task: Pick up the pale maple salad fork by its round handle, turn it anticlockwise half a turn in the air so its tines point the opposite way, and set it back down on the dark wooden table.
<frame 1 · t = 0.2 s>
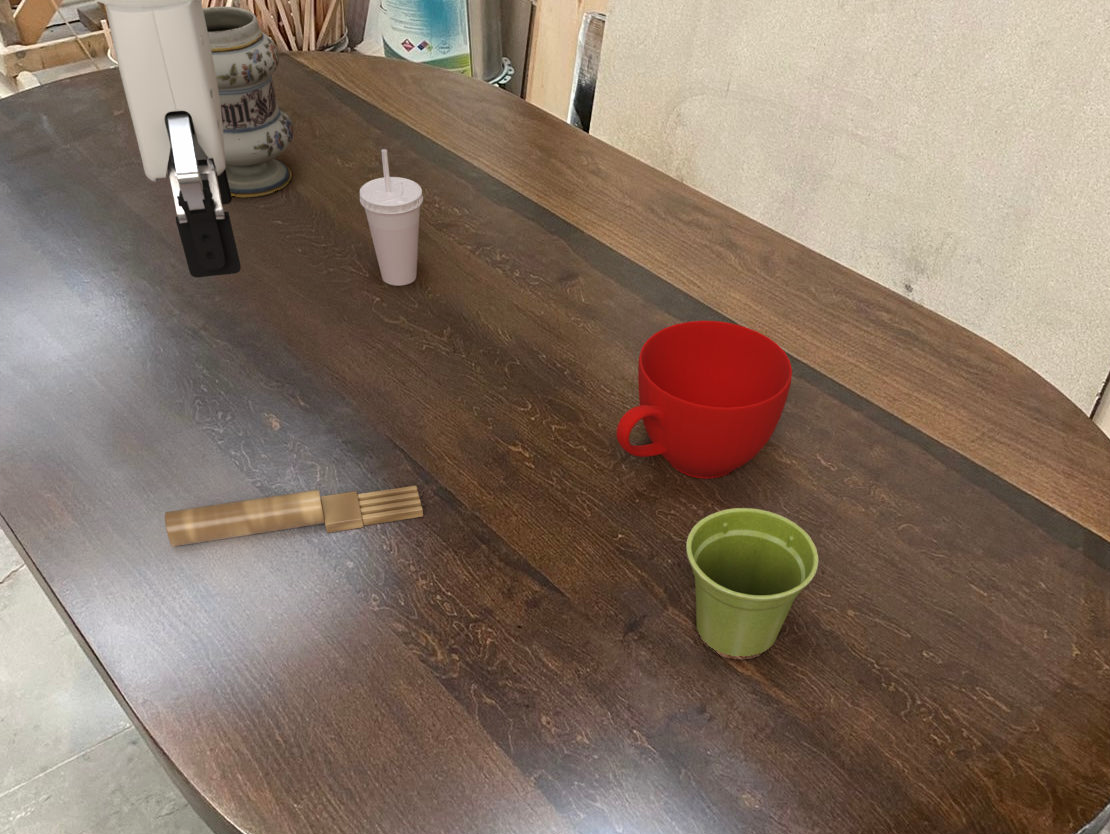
hand: (212, 237, 73), 24 cm above the table, tool pointing down, fingers open, 9 cm apart
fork: (342, 516, 89), on the table
ceramic cup: (686, 465, 96), on the table
plant pot: (735, 633, 83), on the table
smoothie: (399, 278, 116), on the table
apothecary jar: (250, 180, 129), on the table
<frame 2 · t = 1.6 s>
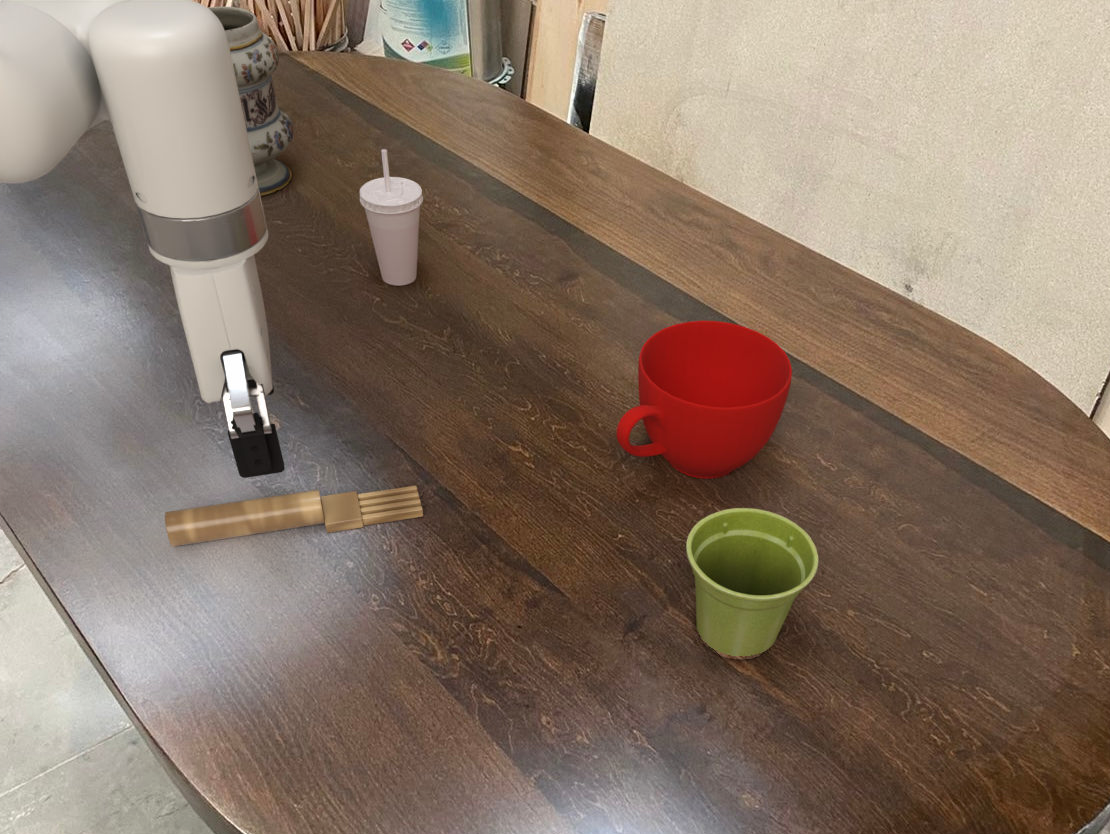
hand: (258, 432, 81), 10 cm above the table, tool pointing down, fingers open, 9 cm apart
nothing on the table moved.
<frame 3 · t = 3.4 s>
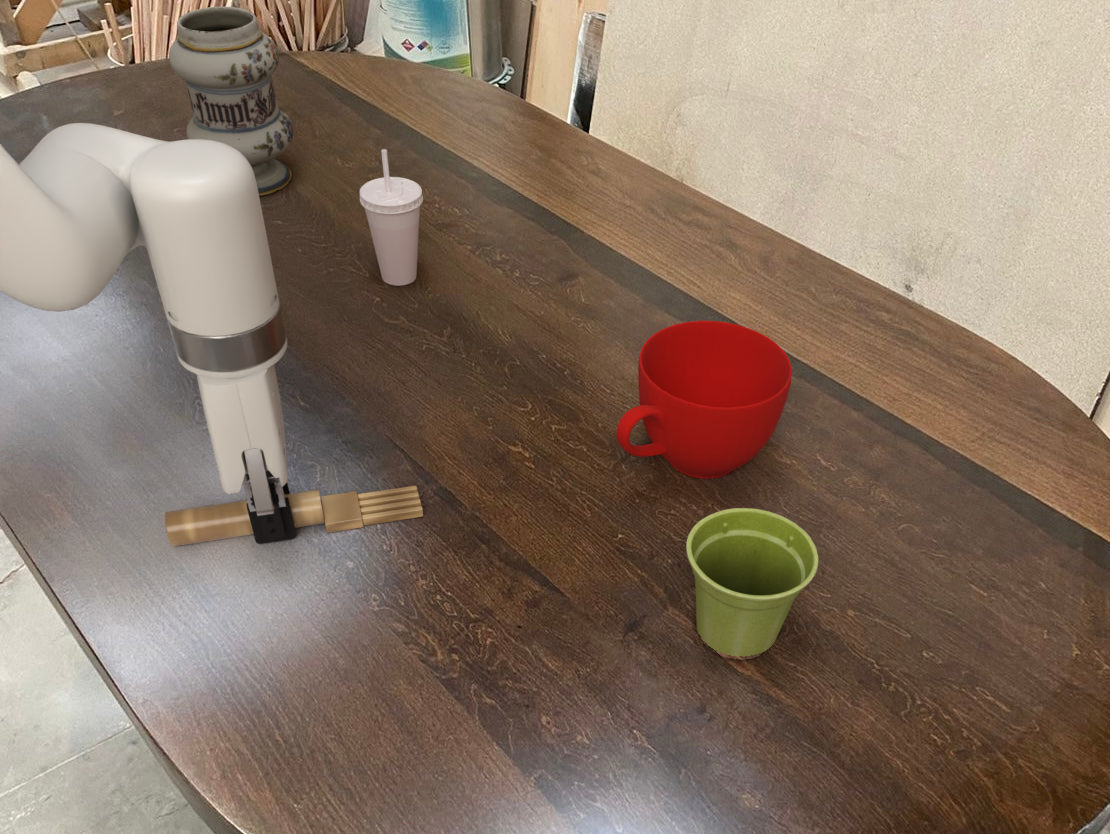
hand: (274, 522, 88), 0 cm above the table, tool pointing down, fingers closed on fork, 2 cm apart
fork: (342, 516, 89), on the table, touching gripper
everything else where it was.
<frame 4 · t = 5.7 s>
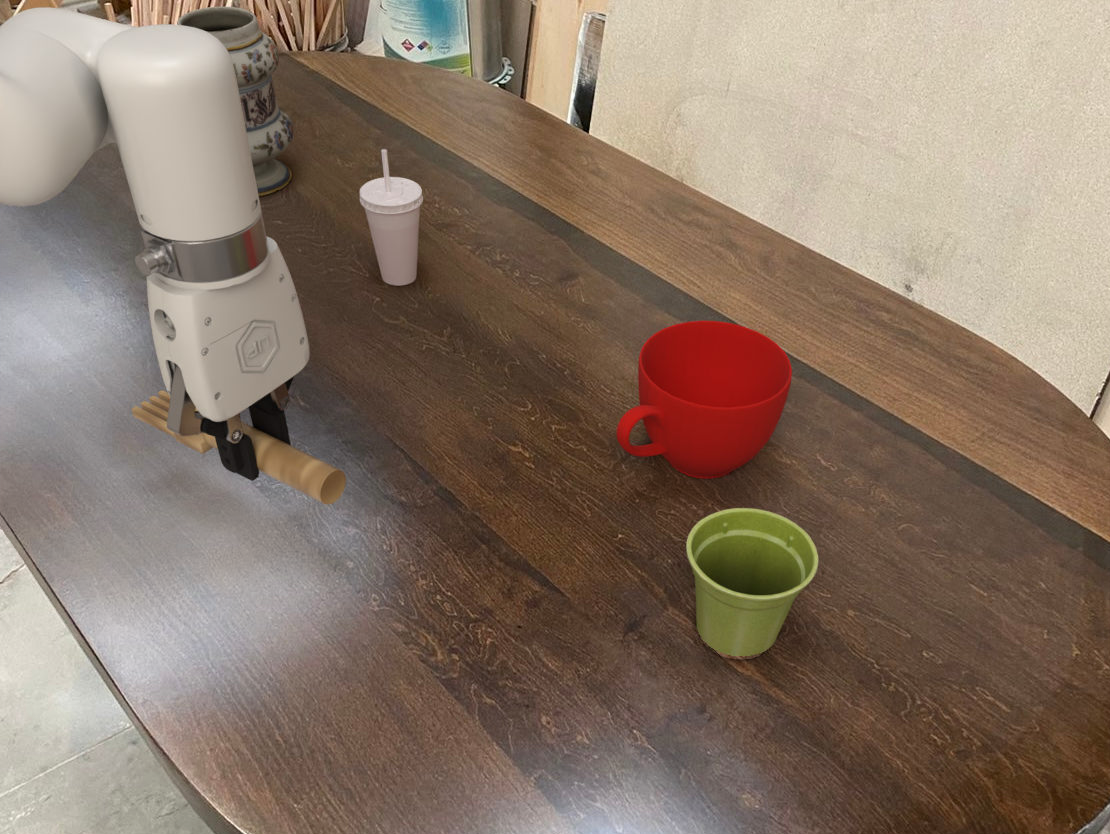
hand: (258, 458, 83), 7 cm above the table, tool pointing down, fingers closed on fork, 2 cm apart
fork: (206, 436, 85), point 7 cm above the table, touching gripper
everything else where it was.
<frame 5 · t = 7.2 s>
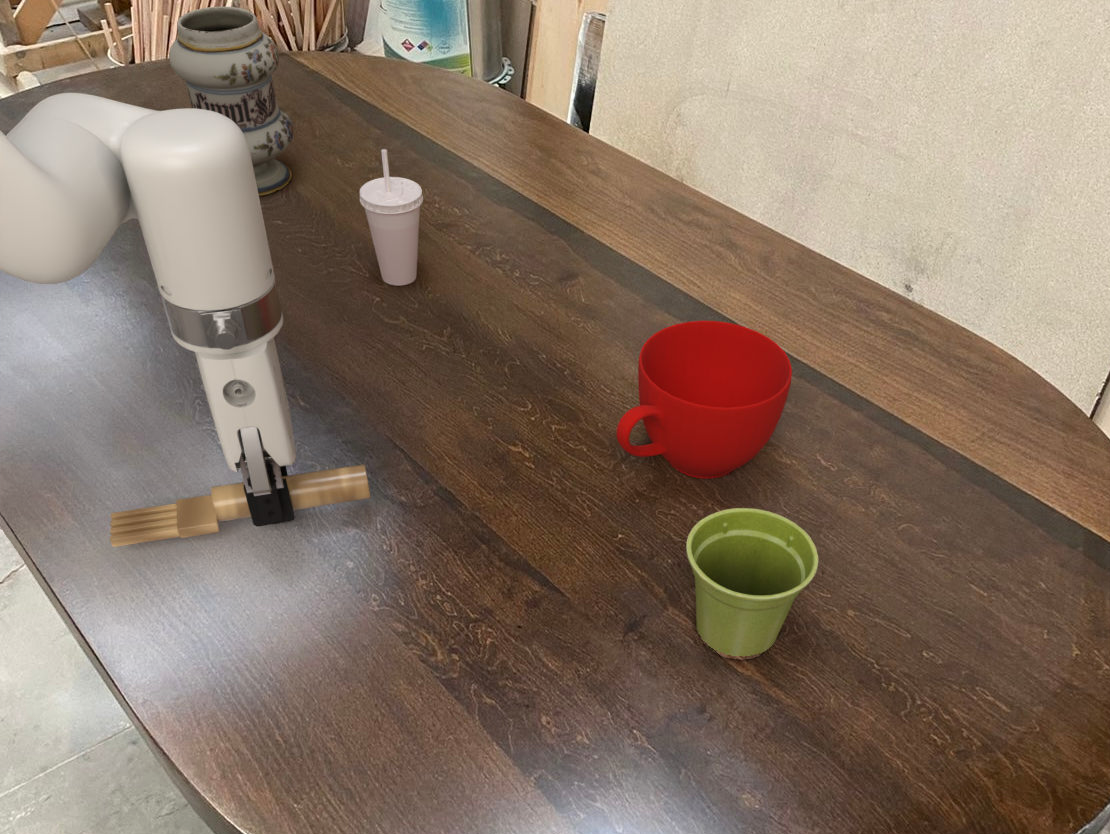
hand: (272, 505, 86), 2 cm above the table, tool pointing down, fingers closed on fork, 2 cm apart
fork: (199, 520, 85), point 2 cm above the table, touching gripper
everything else where it was.
when the fingers open (0 cm above the table, at t = 8.0 s): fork stays where it is, on the table.
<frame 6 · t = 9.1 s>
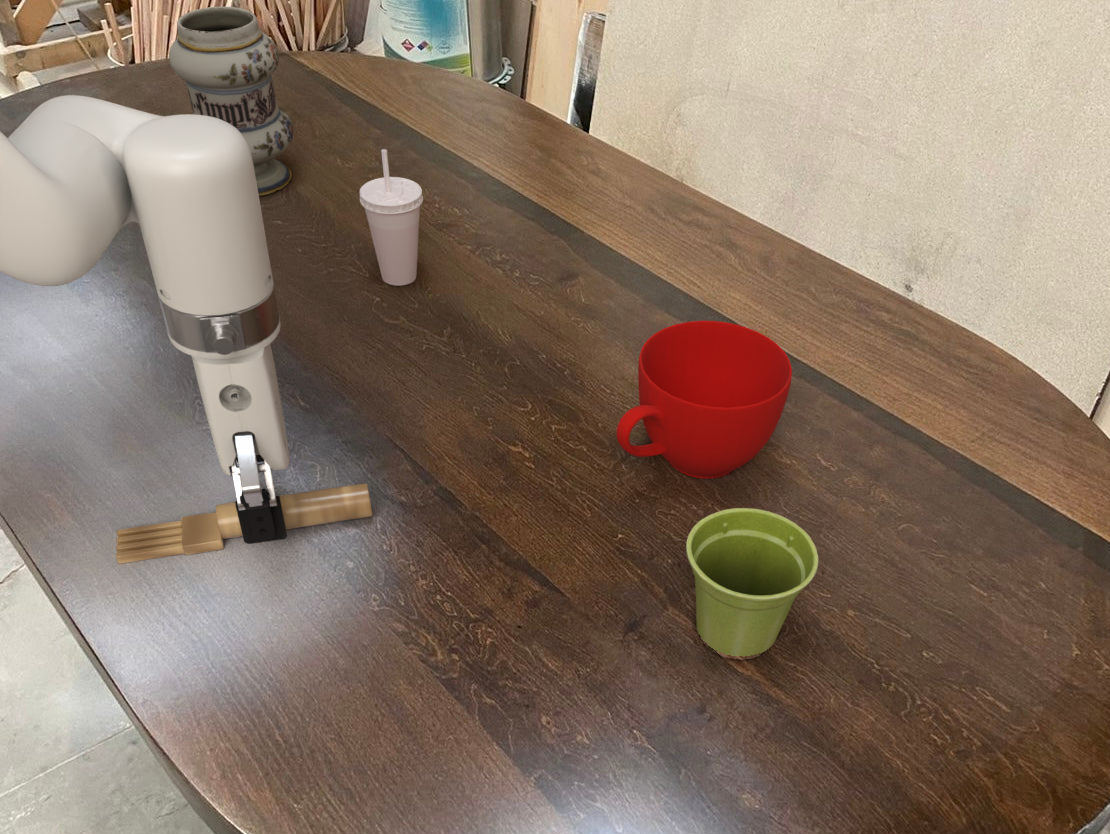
hand: (261, 498, 86), 3 cm above the table, tool pointing down, fingers open, 9 cm apart
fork: (203, 537, 87), on the table
everything else where it was.
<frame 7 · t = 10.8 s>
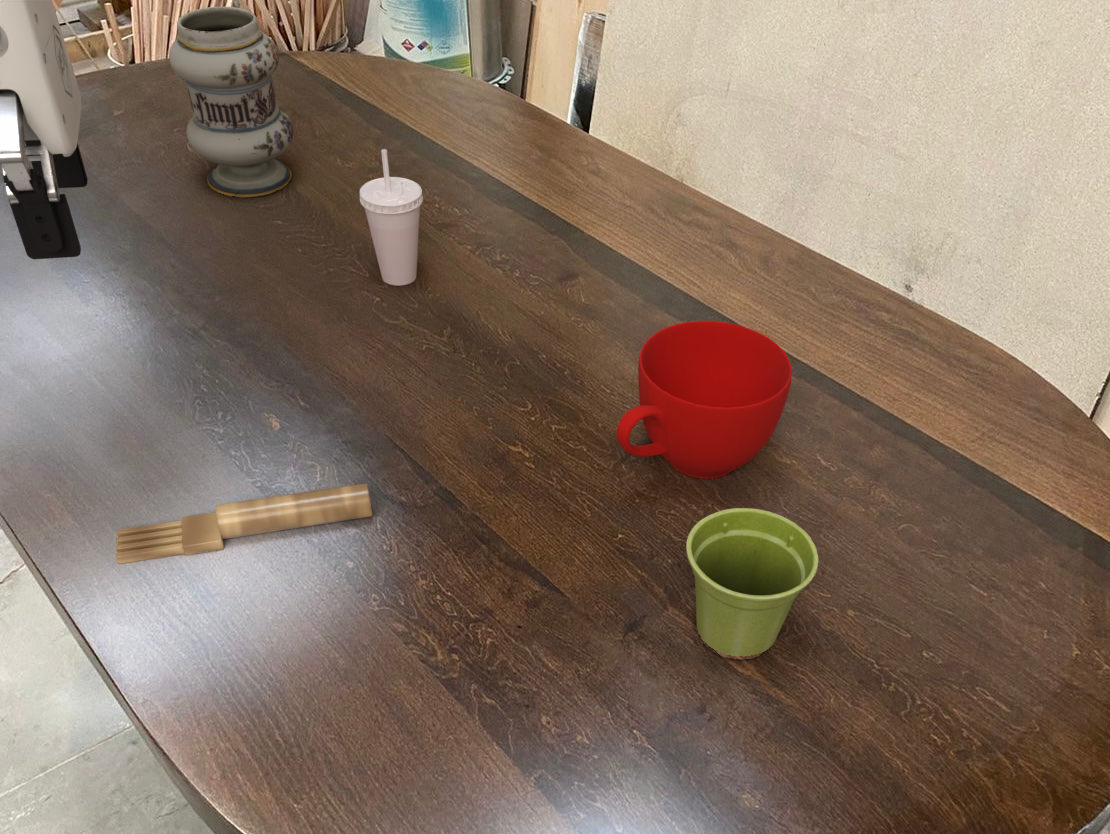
hand: (60, 219, 72), 24 cm above the table, tool pointing down, fingers open, 9 cm apart
nothing on the table moved.
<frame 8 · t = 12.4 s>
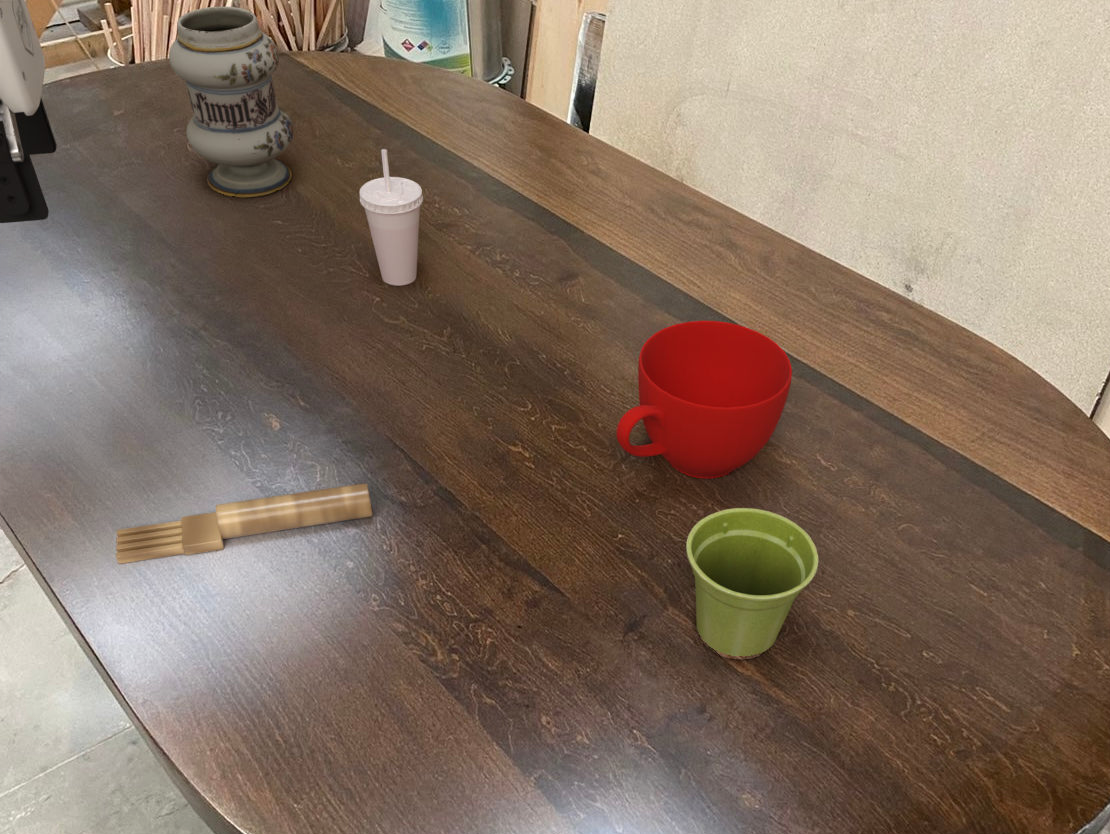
hand: (28, 184, 72), 26 cm above the table, tool pointing down, fingers open, 9 cm apart
nothing on the table moved.
at the end: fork 0.1 cm from the target spot, on the table; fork tilted 0°; the gripper is holding nothing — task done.
